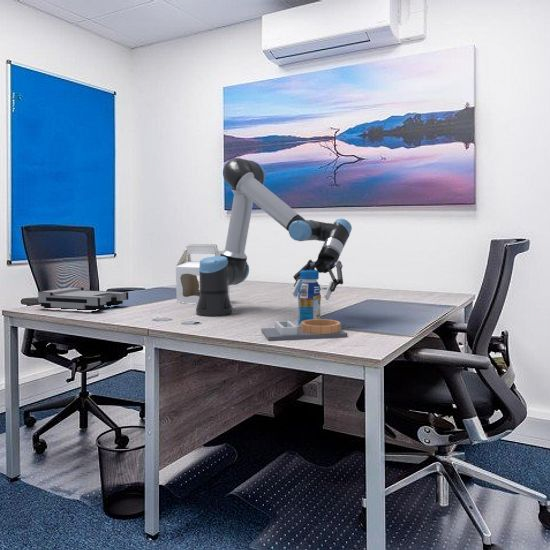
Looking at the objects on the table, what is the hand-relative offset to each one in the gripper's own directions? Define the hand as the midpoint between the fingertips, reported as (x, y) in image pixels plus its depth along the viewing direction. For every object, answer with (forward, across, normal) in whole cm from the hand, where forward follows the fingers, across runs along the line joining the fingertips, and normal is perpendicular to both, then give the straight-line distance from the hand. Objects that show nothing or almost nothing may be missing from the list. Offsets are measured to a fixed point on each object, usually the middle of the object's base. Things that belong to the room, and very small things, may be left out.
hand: (309, 296), depth 184 cm
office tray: (+23, +106, +8) cm, 108 cm away
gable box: (-7, +73, -23) cm, 77 cm away
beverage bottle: (+7, +1, -8) cm, 11 cm away
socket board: (+18, -6, +2) cm, 19 cm away
